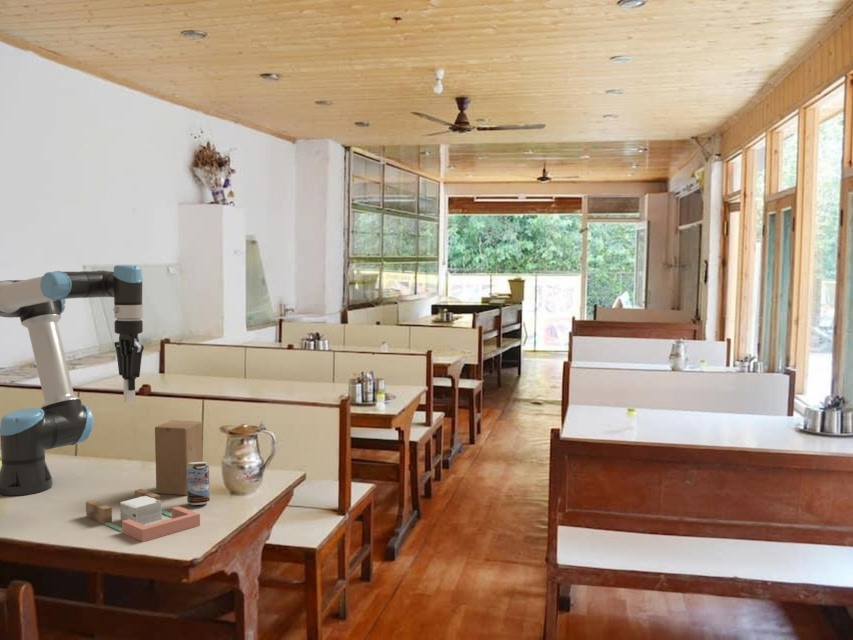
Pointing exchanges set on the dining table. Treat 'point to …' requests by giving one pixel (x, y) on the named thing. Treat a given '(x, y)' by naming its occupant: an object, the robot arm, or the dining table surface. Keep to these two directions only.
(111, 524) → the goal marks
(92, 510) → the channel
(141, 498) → the small box
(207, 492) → the beverage can
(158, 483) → the wooden block
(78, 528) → the dining table surface
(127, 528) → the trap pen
